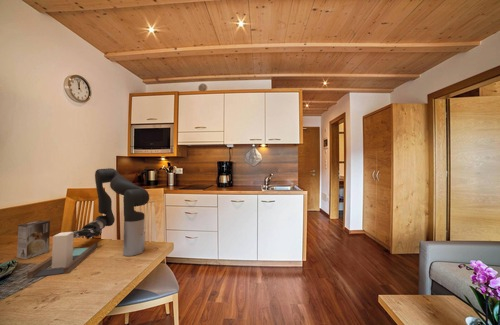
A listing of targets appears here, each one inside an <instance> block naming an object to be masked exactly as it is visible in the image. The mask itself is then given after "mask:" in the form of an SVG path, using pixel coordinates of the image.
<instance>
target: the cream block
mask: <svg viewBox="0 0 500 325" xmlns="http://www.w3.org/2000/svg"><path fill="white" fill-rule="evenodd" d="M73 234H74V232H71V231H65V232H59V233H56V234H55V235H53V236H52V250H51V251H52V252H51V256H52V264H51V269H57V268H64V267H65V266H67V265H68V264H69V263H70V262H72V261H73V260H72V259H73V249H74V238H73Z"/></svg>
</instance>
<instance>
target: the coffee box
mask: <svg viewBox="0 0 500 325" xmlns="http://www.w3.org/2000/svg"><path fill="white" fill-rule="evenodd" d="M50 223H51V221H50V220H45V219H44V220H43V219H42V220H41V219H40V220H36V221H31V222H26V223H21V224H17V249H16V250H17V252H16V258H17V259H23V260H28V259H31V258H35V257H36V256H40V255H43V254H45V253H48V252H50V233H51V232H50V230H51V224H50Z"/></svg>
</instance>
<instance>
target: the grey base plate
mask: <svg viewBox="0 0 500 325" xmlns="http://www.w3.org/2000/svg"><path fill="white" fill-rule="evenodd" d="M77 257H78V256H73V259H72V261H73V260H74V259H75V258H77ZM63 270H64V267H61V268H49V269H44V270H42V271H40V272H39V273H37V274H36V275H34V276H33V278H40V277H49V276H56V275H57V276H58V275H64V274H63Z"/></svg>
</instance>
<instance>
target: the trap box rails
mask: <svg viewBox="0 0 500 325" xmlns="http://www.w3.org/2000/svg"><path fill="white" fill-rule="evenodd" d="M87 248H88V247H87ZM96 248H97V249H98V248H99V242H94V243H93V244H92V245H90V246H89V248H88V249H87V250H85V251H84V252H83V253H82V254H80V255H79V256H78V257H77V258H75V259H74V260H72V262H70V263H69V264H68V265H67V266H65V267H63V268H64V270H63V274H62V275H66V274H69V273H71V271H73V270H74V269H75V268H76V267H77V266H78V265H80V264H81V263H82V262H83V261H84V260H86V259H87V257H89V256H90V255H91V254H92V253H94V251H96V250H97V249H96ZM95 249H96V250H95ZM50 266H52V255H51V256H50V257H48V258H47V259H45V260H44V261H42V262H41V263H39V264H37V265H36V266H35V267H33V268H32V269H29V270H28V271H27V273H26V274H27V276H26V277H27V279H32V278H34V277H33V276H34V275H36V274H37V273H39V272H40V271H42V270H46V269H47V268H48V267H50Z"/></svg>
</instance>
